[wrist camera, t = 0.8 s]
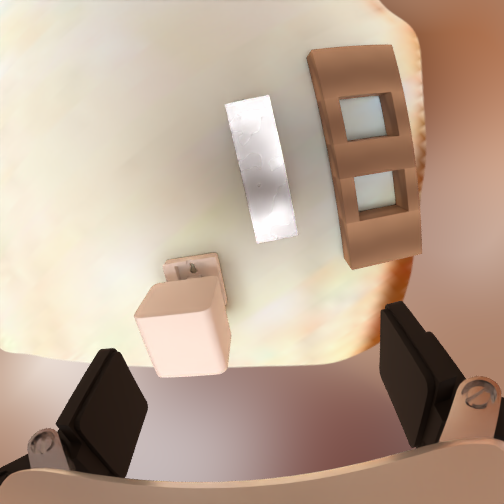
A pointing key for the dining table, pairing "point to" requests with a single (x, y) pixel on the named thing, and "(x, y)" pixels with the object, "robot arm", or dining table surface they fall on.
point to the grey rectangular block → (262, 168)
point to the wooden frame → (369, 152)
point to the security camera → (187, 319)
